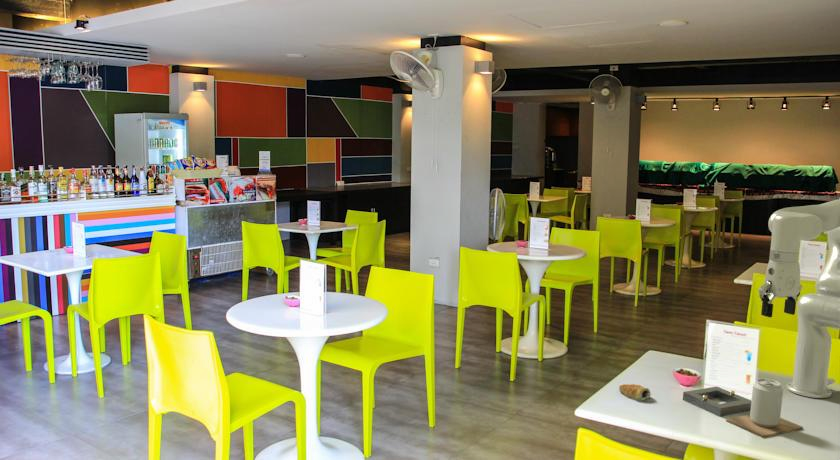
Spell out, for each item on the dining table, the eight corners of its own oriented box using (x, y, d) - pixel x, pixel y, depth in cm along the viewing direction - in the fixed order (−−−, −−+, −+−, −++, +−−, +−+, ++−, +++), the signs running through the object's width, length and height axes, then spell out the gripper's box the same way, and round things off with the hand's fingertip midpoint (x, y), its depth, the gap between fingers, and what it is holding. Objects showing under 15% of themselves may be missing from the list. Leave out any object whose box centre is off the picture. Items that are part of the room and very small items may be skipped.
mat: (765, 413, 209) (765, 411, 209) (802, 429, 199) (803, 427, 199) (726, 421, 202) (726, 419, 202) (762, 437, 192) (763, 435, 192)
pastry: (613, 393, 222) (614, 381, 222) (627, 389, 226) (628, 377, 226) (638, 402, 215) (640, 390, 214) (652, 398, 219) (653, 386, 218)
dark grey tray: (715, 394, 224) (716, 383, 224) (754, 410, 212) (755, 398, 211) (682, 399, 218) (683, 388, 218) (720, 416, 206) (721, 404, 205)
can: (753, 426, 198) (757, 384, 196) (746, 416, 205) (750, 375, 203) (782, 429, 196) (787, 387, 195) (774, 419, 204) (779, 378, 202)
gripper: (774, 260, 201) (768, 320, 203) (815, 258, 209) (809, 315, 211) (752, 256, 208) (746, 314, 210) (792, 253, 215) (786, 309, 218)
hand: (777, 314), depth 211 cm, fingers open, 9 cm apart
